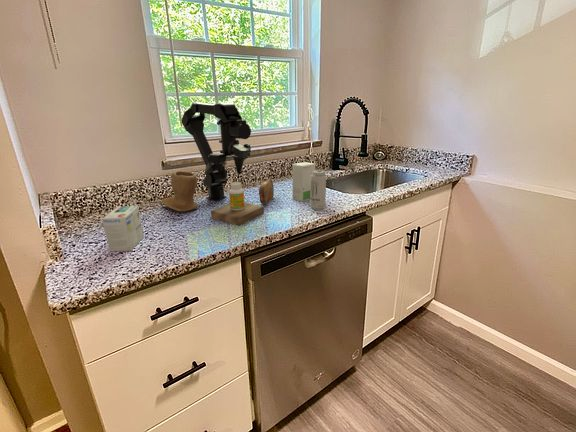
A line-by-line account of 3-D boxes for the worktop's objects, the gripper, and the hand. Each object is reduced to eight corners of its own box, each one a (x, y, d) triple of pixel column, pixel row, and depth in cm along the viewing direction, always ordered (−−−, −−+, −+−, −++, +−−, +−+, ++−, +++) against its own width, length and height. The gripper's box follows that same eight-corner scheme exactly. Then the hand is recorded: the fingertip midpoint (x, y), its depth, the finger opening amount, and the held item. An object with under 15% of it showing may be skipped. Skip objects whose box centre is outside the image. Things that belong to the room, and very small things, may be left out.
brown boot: (206, 208, 127) (201, 172, 122) (178, 215, 119) (173, 177, 114) (187, 200, 137) (182, 166, 132) (161, 207, 129) (155, 171, 124)
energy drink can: (307, 208, 125) (307, 171, 120) (316, 204, 129) (317, 169, 124) (318, 211, 122) (319, 174, 116) (328, 207, 126) (329, 171, 120)
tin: (265, 207, 127) (264, 187, 124) (258, 206, 128) (257, 187, 125) (274, 196, 141) (274, 178, 138) (267, 196, 142) (267, 177, 139)
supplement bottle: (233, 211, 114) (230, 186, 110) (228, 207, 118) (226, 182, 115) (246, 209, 116) (245, 184, 113) (242, 205, 121) (240, 180, 117)
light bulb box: (123, 237, 102) (116, 205, 98) (144, 236, 102) (138, 205, 98) (108, 252, 92) (100, 218, 88) (132, 251, 92) (125, 217, 88)
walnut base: (211, 218, 116) (210, 210, 115) (236, 207, 127) (235, 200, 126) (240, 225, 109) (239, 217, 108) (264, 213, 120) (263, 206, 119)
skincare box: (301, 202, 132) (302, 166, 127) (291, 199, 137) (291, 163, 131) (315, 198, 138) (316, 163, 132) (305, 195, 142) (305, 161, 137)
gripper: (227, 141, 110) (230, 184, 116) (259, 135, 125) (261, 174, 131) (205, 139, 116) (209, 180, 122) (238, 134, 131) (240, 170, 136)
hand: (231, 176), depth 127 cm, fingers open, 9 cm apart
